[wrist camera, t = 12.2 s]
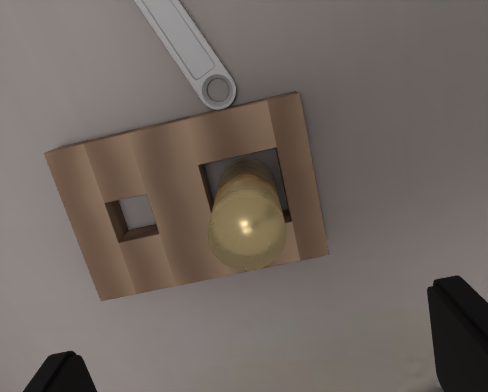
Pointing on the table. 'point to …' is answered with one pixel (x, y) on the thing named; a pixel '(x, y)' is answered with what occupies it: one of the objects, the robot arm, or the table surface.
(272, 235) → the brass peg
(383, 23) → the table surface
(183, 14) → the adjustable wrench
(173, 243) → the socket board
